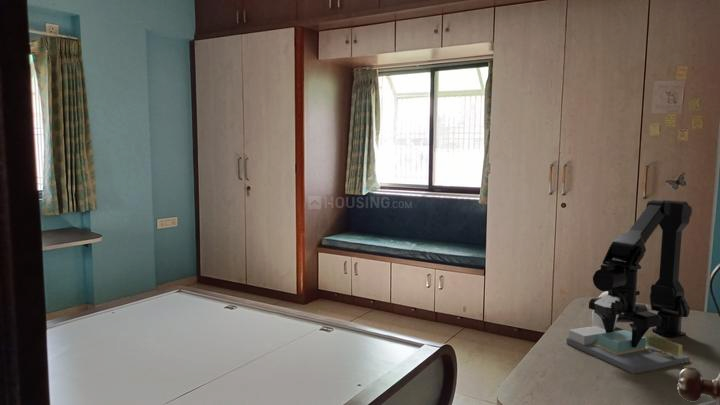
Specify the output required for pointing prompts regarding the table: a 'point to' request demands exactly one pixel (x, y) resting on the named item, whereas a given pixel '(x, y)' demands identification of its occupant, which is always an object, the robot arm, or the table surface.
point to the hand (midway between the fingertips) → (621, 342)
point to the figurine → (596, 318)
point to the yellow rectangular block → (664, 345)
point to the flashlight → (641, 309)
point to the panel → (626, 360)
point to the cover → (619, 341)
